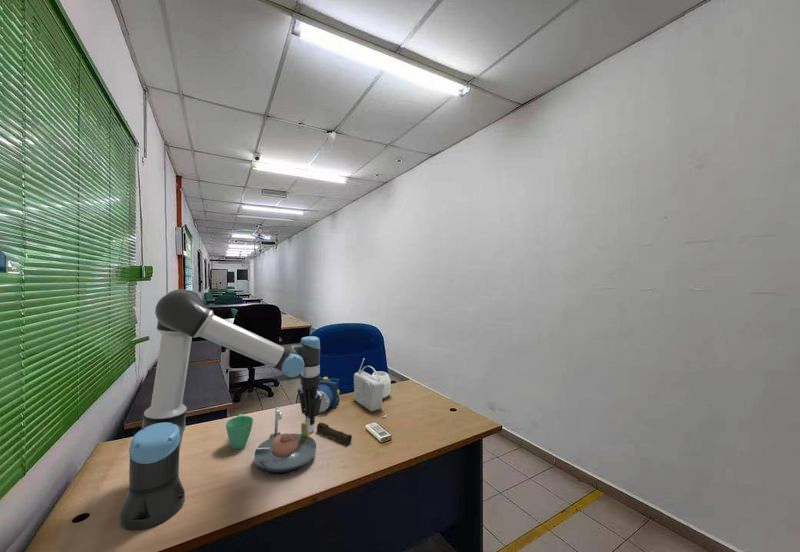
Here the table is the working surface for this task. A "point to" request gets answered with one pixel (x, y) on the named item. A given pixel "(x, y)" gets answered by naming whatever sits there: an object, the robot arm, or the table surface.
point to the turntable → (298, 459)
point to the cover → (285, 445)
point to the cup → (386, 381)
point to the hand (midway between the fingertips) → (310, 431)
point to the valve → (329, 393)
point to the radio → (368, 389)
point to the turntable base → (284, 471)
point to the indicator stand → (276, 422)
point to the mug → (239, 430)
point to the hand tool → (334, 433)
